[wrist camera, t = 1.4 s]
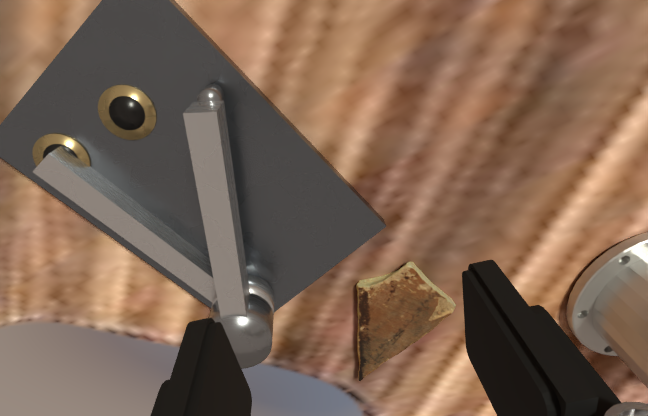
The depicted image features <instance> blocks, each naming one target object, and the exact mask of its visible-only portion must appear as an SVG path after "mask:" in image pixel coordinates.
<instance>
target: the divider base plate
mask: <svg viewBox="0 0 648 416" xmlns="http://www.w3.org/2000/svg"><path fill="white" fill-rule="evenodd" d="M210 84H215V85H218V86H220V87H221V88H222V90H223V91H224V100H223V101H224V106H225V113H226V120H227V127H228V135H229V142H230V149H231V157H232V164H233V171H234V178H235V186H236V193H237V200H238V208H239V215H240V222H241V229H242V237H243V244H244V251H245V259H246V266H247V273H248V280H249V288H250V293H253V294H256V295H258V296H260V297H262V298H263V299H264V300H266V301H267V302H268V304H269V305H270V306H271V308H272V311H273V315H274V312H275V311H276V310H278V309H279V308H280V307H282V306H283V305H284V304H285V303H287V302H288V301H289V300H291V299H292V298H293V297H295V296H296V295H297V294H299V293H300V292H301V291H302V290H304V289H305V288H306V287H308V286H309V285H310V284H312V283H313V282H314V281H316V280H317V279H318V278H319V277H321V276H322V275H323V274H325V273H326V272H327V271H329V270H330V269H331V268H332V267H334V266H335V265H336V264H338V263H339V262H340V261H342V260H343V259H344V258H346V257H347V256H348V255H349V254H351V253H352V252H353V251H355V250H356V249H357V248H359V247H360V246H361V245H363V244H364V243H365V242H366V241H368V240H369V239H370V238H372V237H373V236H374V235H376V234H377V233H378V232H380V231H381V230H382V229H383V228H385V227H386V224H385V222H384V219H383V218H382V217H381V216H380V215H379V214H378V213H377V212H376V211H375V210H374V209H373V208H372V207H371V206H370V205H369V204H368V203H367V202H366V201H365V199H364V198H363V197H362V196H361V195H360V194H359V193H358V192H357V191H356V190H355V189H354V188H353V187H352V186H351V185H350V184H349V183H348V182H347V181H346V180H345V179H344V177H343V176H342V175H341V174H340V173H339V172H338V171H337V170H336V169H335V168H334V167H333V166H332V165H331V164H330V163H329V162H328V161H327V160H326V159H325V158H324V157H323V155H322V154H321V153H320V152H319V151H318V150H317V149H316V148H315V147H314V146H313V145H312V144H311V143H310V142H309V141H308V140H307V139H306V138H305V137H304V136H303V135H302V133H301V132H300V131H299V130H298V129H297V128H296V127H295V126H294V125H293V124H292V123H291V122H290V121H289V120H288V119H287V118H286V117H285V116H284V115H283V114H282V113H281V111H280V110H279V109H278V108H277V107H276V106H275V105H274V104H273V103H272V102H271V101H270V100H269V99H268V98H267V97H266V96H265V95H264V94H263V93H262V92H261V91H260V89H259V88H258V87H257V86H256V85H255V84H254V83H253V82H252V81H251V80H250V79H249V78H248V77H247V76H246V75H245V74H244V73H243V72H242V71H241V70H240V69H239V67H238V66H237V65H236V64H235V63H234V62H233V61H232V60H231V59H230V58H229V57H228V56H227V55H226V54H225V53H224V52H223V51H222V50H221V49H220V48H219V47H218V46H217V44H216V43H215V42H214V41H213V40H212V39H211V38H210V37H209V36H208V35H207V34H206V33H205V32H204V31H203V30H202V29H201V28H200V27H199V26H198V25H197V24H196V22H195V21H194V20H193V19H192V18H191V17H190V16H189V15H188V14H187V13H186V12H185V11H184V10H183V9H182V8H181V7H180V6H179V5H178V4H177V3H176V2H175V0H102V1H101V2H100V4H99V5H98V6H97V7H96V9H95V10H94V11H93V12H92V13H91V15H90V16H89V17H88V18H87V20H86V21H85V22H84V23H83V24H82V26H81V27H80V28H79V29H78V31H77V32H76V33H75V34H74V35H73V37H72V38H71V39H70V40H69V42H68V43H67V44H66V45H65V46H64V48H63V49H62V50H61V51H60V53H59V54H58V55H57V56H56V57H55V59H54V60H53V61H52V62H51V64H50V65H49V66H48V67H47V68H46V70H45V71H44V72H43V73H42V75H41V76H40V77H39V78H38V79H37V81H36V82H35V83H34V84H33V86H32V87H31V88H30V89H29V90H28V92H27V93H26V94H25V95H24V97H23V98H22V99H21V100H20V101H19V103H18V104H17V105H16V106H15V108H14V109H13V110H12V111H11V112H10V114H9V115H8V116H7V117H6V119H5V120H4V121H3V122H2V123H1V125H0V157H1V158H2V159H3V160H5V161H6V162H8V163H9V164H10V165H12V166H13V167H15V168H16V169H17V170H19V171H20V172H21V173H23V174H24V175H26V176H27V177H28V178H30V179H31V180H33V181H34V182H35V183H37V184H38V185H40V186H41V187H42V188H44V189H45V190H47V191H48V192H49V193H51V194H52V195H54V196H55V197H56V198H58V199H59V200H60V201H62V202H63V203H65V204H66V205H67V206H69V207H70V208H72V209H73V210H74V211H76V212H77V213H79V214H80V215H81V216H83V217H84V218H86V219H87V220H88V221H90V222H91V223H93V224H94V225H95V226H97V227H98V228H100V229H101V230H102V231H104V232H105V233H106V234H108V235H109V236H111V237H112V238H113V239H115V240H116V241H118V242H119V243H120V244H122V245H123V246H125V247H126V248H127V249H129V250H130V251H132V252H133V253H134V254H136V255H137V256H139V257H140V258H141V259H143V260H144V261H145V262H147V263H148V264H150V265H151V266H152V267H154V268H155V269H157V270H158V271H159V272H161V273H162V274H164V275H165V276H166V277H168V278H169V279H171V280H172V281H173V282H175V283H176V284H178V285H179V286H180V287H182V288H183V289H185V290H186V291H187V292H189V293H190V294H191V295H193V296H194V297H196V298H197V299H198V300H200V301H201V302H203V303H204V304H205V305H207V306H208V307H210V308H212V306H213V304H214V303H215V302H216V301H217V295H216V289H215V284H214V278H213V273H212V268H211V262H210V257H209V251H208V246H207V241H206V235H205V230H204V224H203V219H202V214H201V208H200V203H199V198H198V192H197V187H196V181H195V176H194V171H193V165H192V160H191V154H190V149H189V144H188V138H187V133H186V127H185V122H184V117H183V113H184V112H185V111H186V109H187V108H188V107H189V106H190V105H191V104H192V103H193V102H197V97H198V95H199V93H200V92H201V91H202V90H203V89H204V88H205V87H206V86H208V85H210Z"/></svg>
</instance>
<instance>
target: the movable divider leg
mask: <svg viewBox="0 0 648 416" xmlns="http://www.w3.org/2000/svg"><path fill="white" fill-rule="evenodd" d="M223 100H224V91H223V90H222V88H221V87H220V86H218V85H215V84H210V85H208V86H206V87H205V88H204V89H203V90H202V91H201V92H200V93H199V95H198V97H197V102H193V103H192V104H191V105H190V106H189V107H188V108H187V109H186V111H185V112H184V113H183V117H184V122H185V127H186V133H187V138H188V144H189V149H190V154H191V160H192V165H193V171H194V176H195V181H196V187H197V192H198V198H199V203H200V208H201V214H202V219H203V224H204V230H205V235H206V241H207V246H208V251H209V257H210V262H211V268H212V273H213V278H214V284H215V289H216V295H217V301H216V302H215V303H214V304H213V306H212V308H211V310H210V314H209V318H212V319H213V320H214V321H215V322H221V323H222V325H223V327H224V330H225V332H226V334H227V337H228V339H229V341H230V344H231V346H232V348H233V351H234V353H235V356H236V358H237V360H238V363H239V365H240V367H241V369H242V368H248V367H252V366H255V365H257V364H259V363H261V362H262V361H263V360H265V359H266V358H267V356H268V355H269V353H270V351H271V348H272V334H273V311H272V308H271V306H270V305H269V304H268V302H267V301H266V300H264V299H263V298H262V297H260V296H258V295H256V294H253V293H250V288H249V280H248V273H247V266H246V259H245V251H244V244H243V237H242V229H241V222H240V215H239V208H238V200H237V193H236V186H235V178H234V171H233V164H232V157H231V149H230V142H229V135H228V127H227V120H226V113H225V106H224V101H223Z"/></svg>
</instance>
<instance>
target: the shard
mask: <svg viewBox="0 0 648 416" xmlns="http://www.w3.org/2000/svg"><path fill="white" fill-rule="evenodd" d="M356 289H357V297H358V308H357V312H358V333H357V338H358V339H357V353H358V358H359V370H358V379H359V381H361V380H362V379H363V378H364V377H365V376H366V375H368V374H370V373H371V372H372V371H374V370H375V369H377V368H378V367H379V366H380V365H381V364H382V363H384V362H386V361H387V360H388V359H390V358H392V357H393V356H395V355H397V354H399V353H400V352H402V351H403V350H405V349H406V348H407V347H408V346H410V345H411V344H413V343H415V342H416V341H418V340H419V339H420V338H422V337H423V336H424V335H425V334H426V333H428V332H430V331H431V330H432V329H434V328H435V327H436V326H437V325H438V324H439V323H440V322H441V321H442V320H443V319H445V318H446V317H448V316H449V315H450V314H451V313H452V312H453V311H454V309H455V306H456V304H455V303H454V301H453V300H452V299H451V298H450V297H449V296H447V295H446V294H445V293H444V292H443V291H441V290H440V289H439V288H438V287H436V286H435V285H434V284H433V283H432V282H430V281H429V279H428V278H427V277H426V276H425V275H424V274H423V273H422V271H421V270H419V269H418V268H417V267H416V266H415V264H414V263H413V262H407V263H406V265H404V266H403V267H402V268H400V269H399V270H398V271H395V272H392V273H390V274H386V275H383V276H381V277H375V278H370V279H366V280H361V281H358V283H357V285H356Z"/></svg>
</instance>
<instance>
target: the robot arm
mask: <svg viewBox="0 0 648 416" xmlns="http://www.w3.org/2000/svg"><path fill="white" fill-rule="evenodd" d="M462 282H463V300H464V319H465V337H466V349H467V353H468V356H469V359H470V361H471V363H472V365H473V367H474V369H475V371H476V373H477V375H478V377H479V379H480V381H481V383H482V385H483V387H484V389H485V391H486V394H487V396H488V398H489V400H490V402H491V404H492V406H493V408H494V410H495V412H496V414H497V416H648V404H645V403H640V402H624V403H621V402H620V400H619V399H618V398H617V397H616V395H615V394H614V393H613V392H612V390H611V389H610V388H609V387H608V386H607V384H606V383H605V382H604V381H603V379H602V378H601V377H600V376H599V374H598V373H597V372H596V371H595V370H594V368H593V367H592V366H591V365H590V363H589V362H588V361H587V360H586V359H585V357H584V356H583V355H582V354H581V352H580V351H579V350H578V349H577V347H576V346H575V345H574V344H573V343H572V341H571V340H570V339H569V338H568V336H567V335H566V334H565V333H564V331H563V330H562V329H561V328H560V327H559V325H558V324H557V323H556V322H555V320H554V319H553V318H552V317H551V315H550V314H549V313H548V312H547V311H546V310H545V309H544V308H543V307H542V306H540V305H536V306H531V307H529V306H528V304H527V303H526V302H525V300H524V299H523V298H522V297H521V295H520V294H519V293H518V291H517V290H516V289H515V287H514V286H513V285H512V284H511V282H510V281H509V280H508V278H507V277H506V276H505V274H504V273H503V272H502V271H501V269H500V268H499V267H498V265H497V264H496V263H495V262H494V261H493V260H487V261H482V262H477V263H473V264H470V265H469V267H468V270H467V271H463V273H462ZM566 317H567V321H568V325H569V327H570V329H571V331H572V333H573V334H574V335H575V336H576V338H577V339H578V340H579V341H580V342H581V343H582V344H583V345H584V346H585V347H587V348H588V349H590V350H592V351H594V352H597V353H599V354H604V355H610V356H619V357H620V358H621V359H622V361H623V362H624V363H625V364H626V365H627V366H628V367H629V368H630V369H631V370H632V372H633V373H634V374H635V375H636V376H637V377H638V378H639V379H640V380H641V381H642V383H643V384H644V385H645V386H646V387H647V388H648V232H646V233H643V234H639V235H637V236H634V237H632V238H630V239H627V240H625V241H623V242H621V243H619V244H618V245H616V246H614V247H613V248H611V249H609V250H608V251H606V252H605V253H604V254H603V255H601V256H600V257H599V258H597V259H596V260H595V261H594V262H593V263H592V264H591V265H590V266H589V267H588V268H587V269H586V270H585V271H584V272H583V274H582V275H581V277H580V278H579V279H578V281H577V282H576V284H575V286H574V288H573V290H572V292H571V294H570V296H569V300H568V304H567V314H566ZM251 406H252V398H251V392H250V389H249V386H248V384H247V381H246V379H245V377H244V374H243V372H242V370H241V367H240V365H239V363H238V360H237V358H236V356H235V353H234V351H233V348H232V346H231V344H230V341H229V339H228V337H227V334H226V332H225V330H224V327H223V325H222V323H221V322H215V321H214V320H213V319H212V318H207V319H202V320H197V321H192V322H189V323H188V325H187V327H186V331H185V334H184V337H183V340H182V343H181V346H180V350H179V353H178V356H177V359H176V362H175V365H174V368H173V372H172V375H171V378H170V380H166V381H165V382H164V383H163V384H162V385H161V388H160V390H159V393H158V396H157V399H156V402H155V405H154V407H153V410H152V413H151V416H251Z"/></svg>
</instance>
